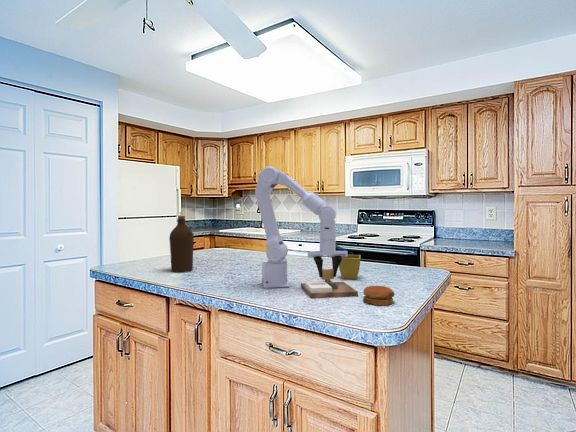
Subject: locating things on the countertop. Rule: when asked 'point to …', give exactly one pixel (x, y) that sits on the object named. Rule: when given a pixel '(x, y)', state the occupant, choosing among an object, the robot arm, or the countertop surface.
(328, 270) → the wooden mallet
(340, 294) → the board
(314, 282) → the cover
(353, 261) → the flower pot
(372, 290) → the burger
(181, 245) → the olive oil
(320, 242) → the robot arm
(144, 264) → the countertop surface
